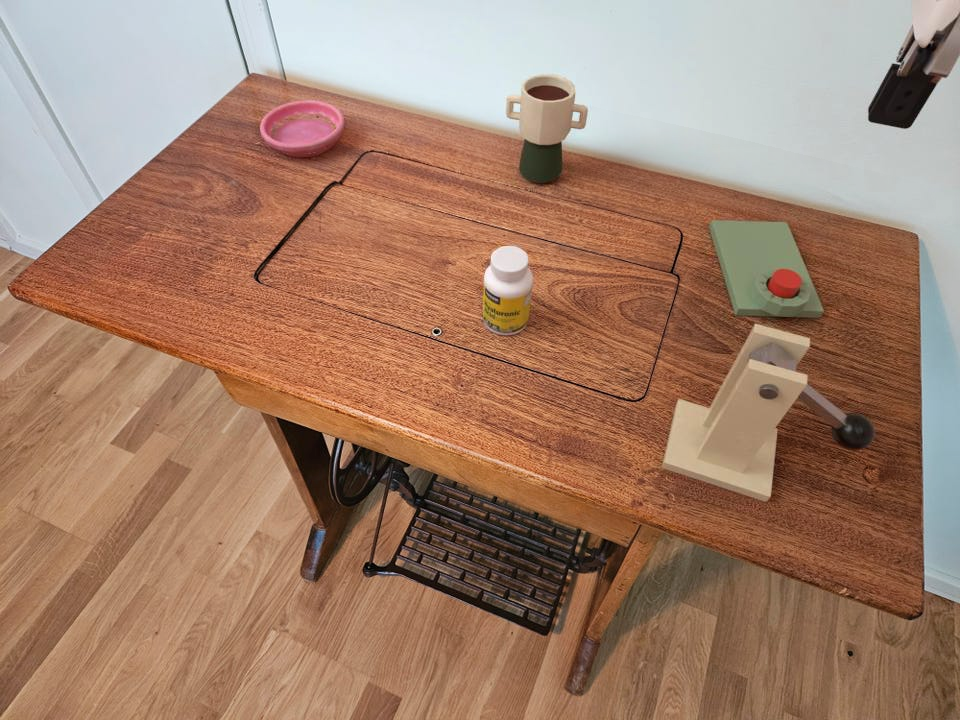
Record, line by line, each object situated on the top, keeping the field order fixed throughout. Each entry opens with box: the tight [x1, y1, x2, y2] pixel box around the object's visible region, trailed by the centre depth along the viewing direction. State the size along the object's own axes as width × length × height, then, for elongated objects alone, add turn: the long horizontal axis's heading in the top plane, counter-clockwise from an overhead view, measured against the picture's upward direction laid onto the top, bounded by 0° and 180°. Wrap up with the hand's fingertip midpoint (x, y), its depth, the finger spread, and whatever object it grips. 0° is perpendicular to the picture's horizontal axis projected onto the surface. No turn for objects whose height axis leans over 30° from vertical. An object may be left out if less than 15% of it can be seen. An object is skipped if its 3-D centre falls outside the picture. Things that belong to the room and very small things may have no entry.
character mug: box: [505, 73, 589, 184], centre depth 85 cm, size 11×7×13 cm, turn 75°
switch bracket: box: [661, 323, 811, 503], centre depth 56 cm, size 10×8×16 cm
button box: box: [708, 219, 825, 319], centre depth 77 cm, size 17×10×3 cm, turn 178°
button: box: [768, 269, 802, 299], centre depth 72 cm, size 3×3×2 cm
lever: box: [748, 342, 876, 451], centre depth 52 cm, size 13×3×3 cm, turn 69°
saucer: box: [259, 99, 346, 158], centre depth 93 cm, size 12×12×3 cm
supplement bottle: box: [482, 245, 534, 336], centre depth 69 cm, size 5×5×10 cm
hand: (887, 120), depth 50 cm, fingers closed
